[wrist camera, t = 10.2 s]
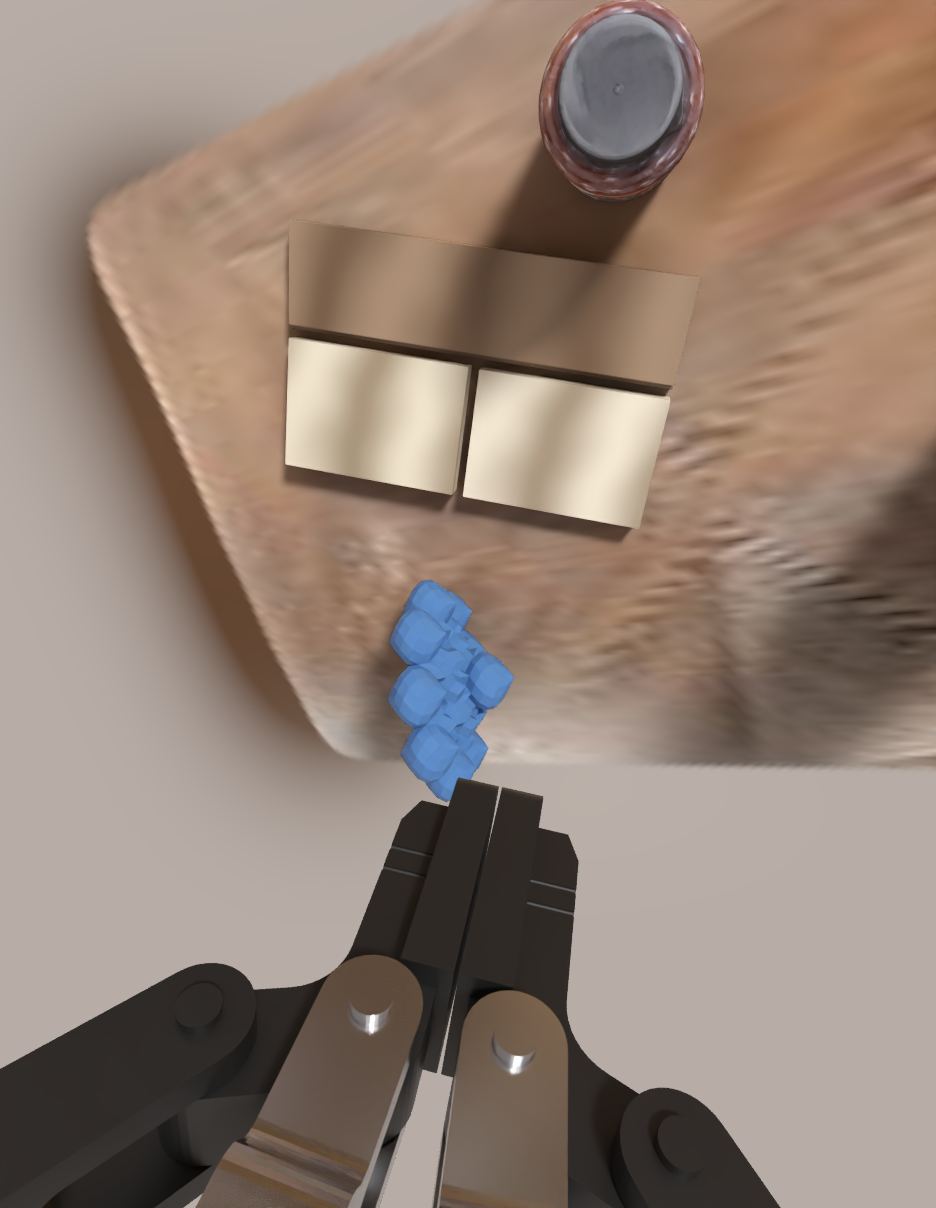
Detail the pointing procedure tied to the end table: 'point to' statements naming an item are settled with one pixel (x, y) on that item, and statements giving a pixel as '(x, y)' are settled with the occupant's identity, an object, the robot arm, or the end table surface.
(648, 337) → the laid plank
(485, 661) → the grapes
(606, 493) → the plank
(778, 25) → the end table surface
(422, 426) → the plank
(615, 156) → the supplement bottle
